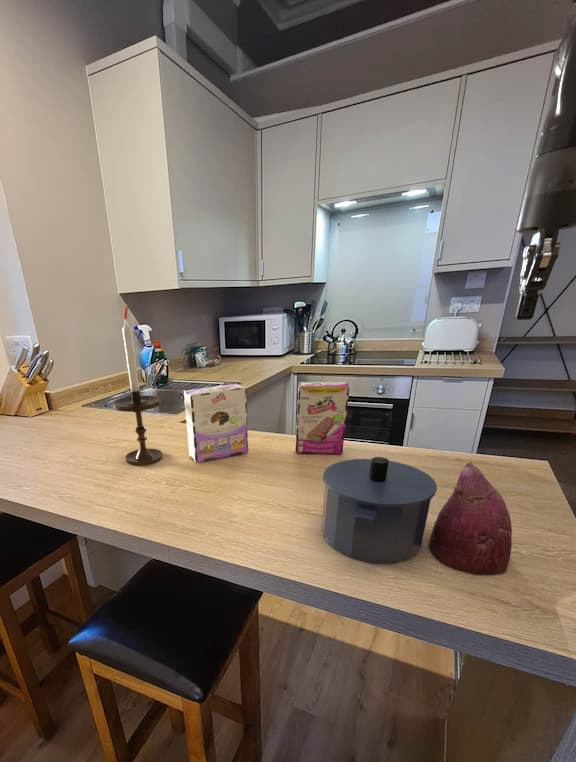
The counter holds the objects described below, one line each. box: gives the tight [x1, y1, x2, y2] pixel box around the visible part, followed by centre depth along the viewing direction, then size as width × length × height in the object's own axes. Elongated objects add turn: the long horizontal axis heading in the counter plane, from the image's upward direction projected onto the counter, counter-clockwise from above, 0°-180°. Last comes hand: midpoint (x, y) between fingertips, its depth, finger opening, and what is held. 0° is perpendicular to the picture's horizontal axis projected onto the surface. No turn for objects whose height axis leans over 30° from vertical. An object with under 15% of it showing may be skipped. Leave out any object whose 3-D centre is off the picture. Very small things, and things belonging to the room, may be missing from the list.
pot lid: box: [322, 456, 438, 507], centre depth 58 cm, size 16×16×4 cm
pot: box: [320, 484, 432, 565], centre depth 60 cm, size 15×20×10 cm
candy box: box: [183, 383, 249, 464], centre depth 93 cm, size 14×6×16 cm, turn 111°
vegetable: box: [428, 460, 513, 575], centre depth 55 cm, size 10×10×15 cm
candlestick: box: [112, 303, 164, 467], centre depth 90 cm, size 11×11×35 cm
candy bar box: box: [295, 381, 350, 455], centre depth 92 cm, size 11×5×16 cm, turn 80°
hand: (523, 319), depth 65 cm, fingers closed
